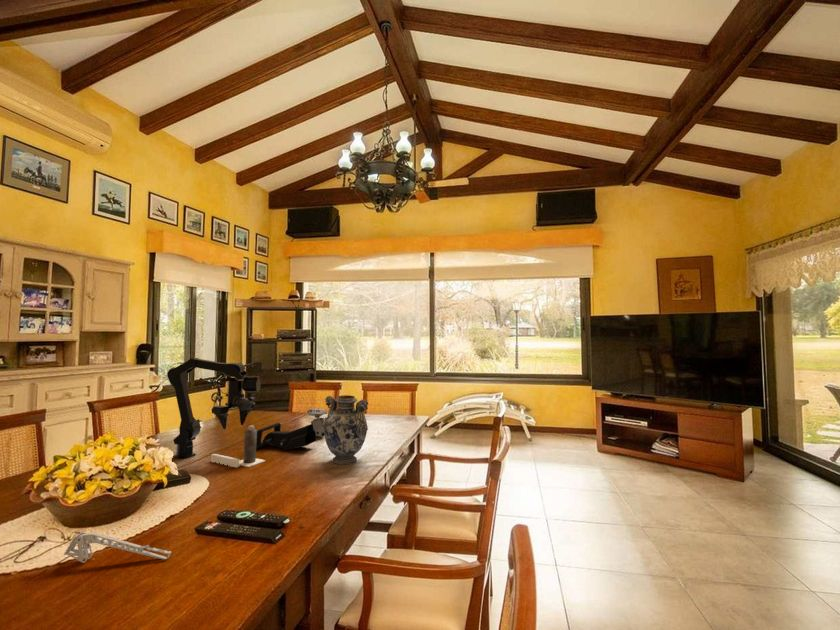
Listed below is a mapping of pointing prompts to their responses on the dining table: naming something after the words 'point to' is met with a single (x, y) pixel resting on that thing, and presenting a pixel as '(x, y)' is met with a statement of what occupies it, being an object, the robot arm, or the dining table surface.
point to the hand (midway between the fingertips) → (233, 426)
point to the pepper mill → (250, 445)
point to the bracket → (92, 538)
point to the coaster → (251, 463)
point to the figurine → (318, 421)
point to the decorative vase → (345, 427)
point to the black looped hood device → (286, 437)
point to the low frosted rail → (225, 460)
